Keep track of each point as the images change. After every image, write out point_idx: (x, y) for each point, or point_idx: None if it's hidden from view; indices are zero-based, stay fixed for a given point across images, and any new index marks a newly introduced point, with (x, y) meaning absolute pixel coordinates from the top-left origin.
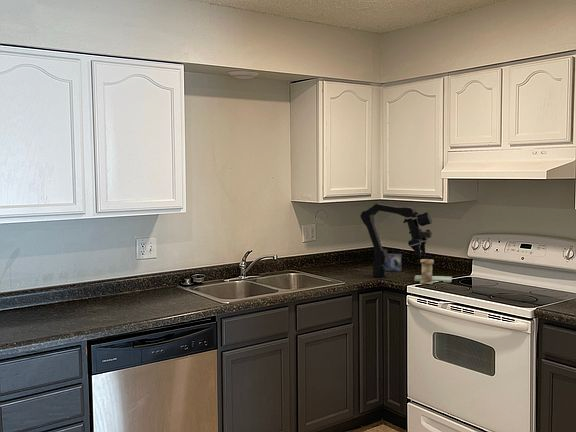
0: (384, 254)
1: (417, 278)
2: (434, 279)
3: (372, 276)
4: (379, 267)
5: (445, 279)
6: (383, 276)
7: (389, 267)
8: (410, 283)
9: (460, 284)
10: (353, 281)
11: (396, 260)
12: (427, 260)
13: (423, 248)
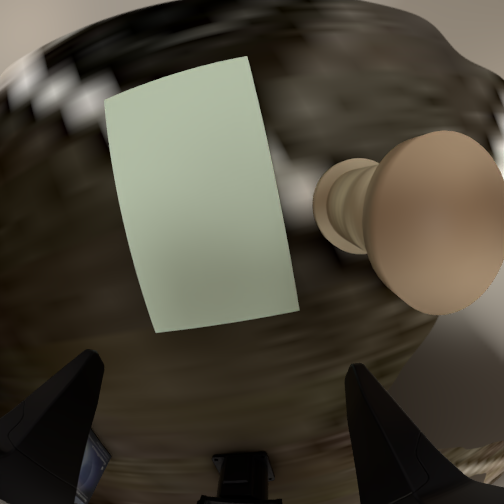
0: None
1: (282, 293)
2: (269, 167)
3: (273, 478)
4: (265, 498)
5: (230, 97)
6: (262, 454)
7: (95, 454)
8: (395, 298)
9: (289, 13)
10: None
11: None
12: (486, 211)
13: (57, 424)
